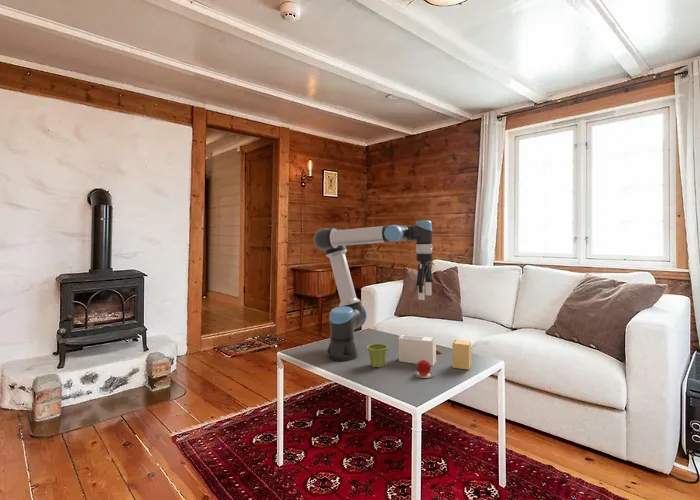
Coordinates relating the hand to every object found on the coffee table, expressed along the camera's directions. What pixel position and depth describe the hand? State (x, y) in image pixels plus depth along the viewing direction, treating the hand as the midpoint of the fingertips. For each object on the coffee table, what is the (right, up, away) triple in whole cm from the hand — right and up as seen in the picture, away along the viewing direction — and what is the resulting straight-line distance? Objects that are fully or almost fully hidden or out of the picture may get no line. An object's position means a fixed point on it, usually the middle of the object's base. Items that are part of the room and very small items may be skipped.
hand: (425, 297), depth 179 cm
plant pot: (-23, -30, -10) cm, 39 cm away
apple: (-5, -30, -23) cm, 38 cm away
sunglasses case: (+4, -29, +12) cm, 32 cm away
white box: (-5, -29, -5) cm, 30 cm away
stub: (+13, -29, -14) cm, 35 cm away
